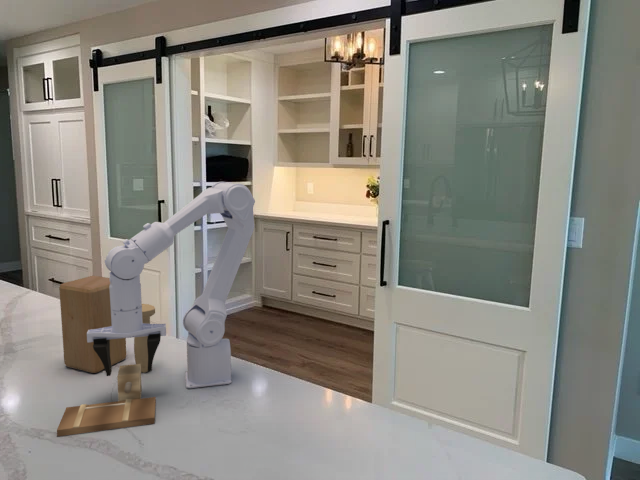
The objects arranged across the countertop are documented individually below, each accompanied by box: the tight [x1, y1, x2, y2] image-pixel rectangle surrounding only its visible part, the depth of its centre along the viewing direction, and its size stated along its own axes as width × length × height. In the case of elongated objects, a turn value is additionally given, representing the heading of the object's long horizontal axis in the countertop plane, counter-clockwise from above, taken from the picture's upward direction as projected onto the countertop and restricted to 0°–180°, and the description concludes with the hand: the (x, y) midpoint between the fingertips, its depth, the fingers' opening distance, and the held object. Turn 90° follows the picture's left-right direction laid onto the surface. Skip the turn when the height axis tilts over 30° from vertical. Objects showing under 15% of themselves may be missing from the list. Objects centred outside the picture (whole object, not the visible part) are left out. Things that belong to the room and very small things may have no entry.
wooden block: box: [58, 275, 127, 374], centre depth 110 cm, size 10×10×20 cm
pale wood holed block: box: [116, 363, 143, 401], centre depth 94 cm, size 4×8×6 cm, turn 17°
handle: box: [133, 303, 156, 374], centre depth 107 cm, size 5×6×15 cm
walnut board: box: [56, 396, 157, 437], centre depth 88 cm, size 16×8×1 cm, turn 107°
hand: (129, 371), depth 95 cm, fingers open, 7 cm apart
